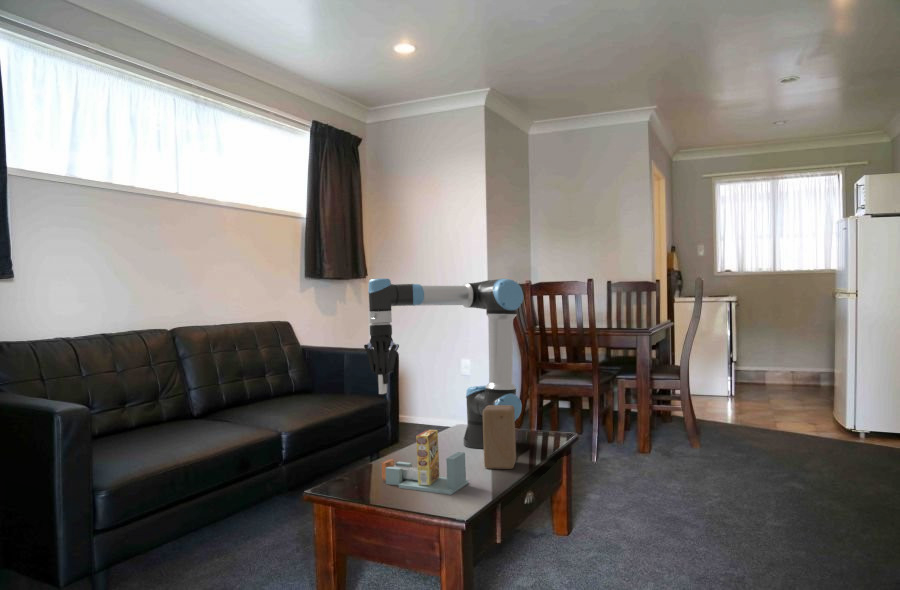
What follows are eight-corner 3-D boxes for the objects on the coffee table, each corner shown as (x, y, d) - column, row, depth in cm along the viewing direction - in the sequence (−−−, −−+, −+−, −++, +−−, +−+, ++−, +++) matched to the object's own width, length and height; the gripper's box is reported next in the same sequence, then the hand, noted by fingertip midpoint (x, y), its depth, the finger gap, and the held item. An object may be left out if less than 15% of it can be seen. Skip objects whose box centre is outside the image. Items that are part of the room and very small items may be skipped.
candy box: (430, 486, 183) (428, 435, 183) (417, 485, 184) (415, 435, 184) (440, 477, 191) (438, 429, 191) (427, 477, 193) (426, 429, 193)
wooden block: (513, 470, 201) (511, 410, 201) (483, 469, 203) (482, 409, 203) (516, 461, 211) (514, 404, 211) (488, 461, 213) (486, 404, 213)
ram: (390, 474, 197) (390, 459, 197) (426, 479, 191) (425, 462, 191) (382, 479, 192) (381, 462, 192) (418, 483, 186) (418, 466, 186)
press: (402, 475, 199) (401, 444, 199) (468, 483, 188) (467, 451, 188) (382, 485, 188) (381, 453, 188) (451, 494, 177) (450, 460, 177)
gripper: (358, 324, 204) (360, 394, 204) (391, 324, 199) (393, 395, 198) (371, 323, 211) (373, 391, 211) (402, 323, 205) (405, 392, 205)
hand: (382, 393), depth 205 cm, fingers closed
